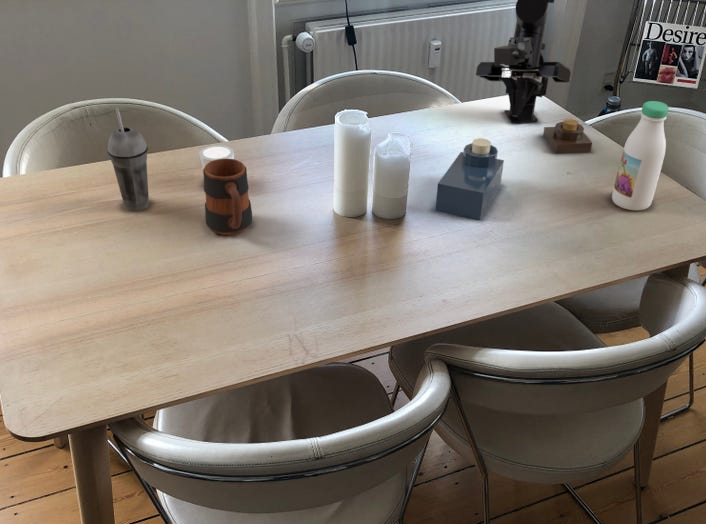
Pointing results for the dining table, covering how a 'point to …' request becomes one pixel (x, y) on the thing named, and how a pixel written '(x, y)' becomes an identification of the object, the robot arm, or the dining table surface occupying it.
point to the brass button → (570, 124)
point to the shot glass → (215, 154)
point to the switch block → (567, 139)
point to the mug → (227, 197)
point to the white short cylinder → (481, 146)
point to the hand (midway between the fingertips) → (514, 116)
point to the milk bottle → (642, 159)
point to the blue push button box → (470, 183)
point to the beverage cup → (130, 165)
